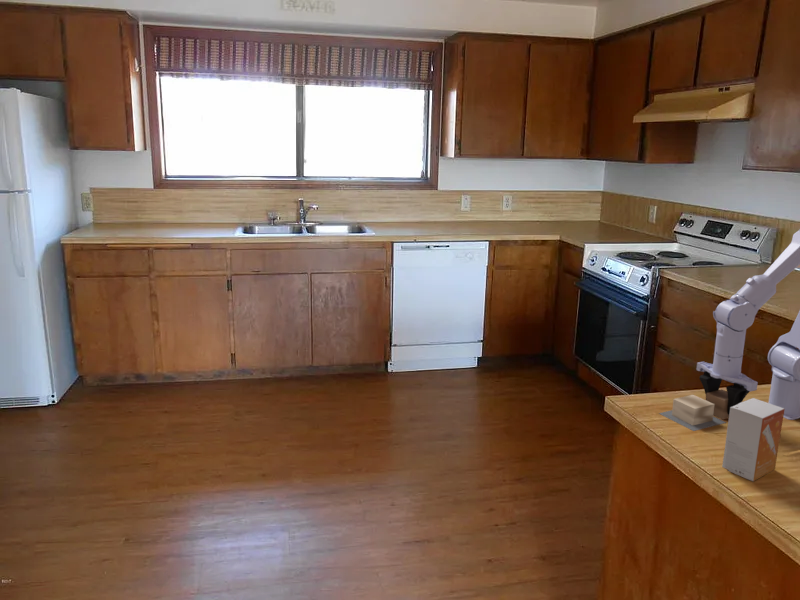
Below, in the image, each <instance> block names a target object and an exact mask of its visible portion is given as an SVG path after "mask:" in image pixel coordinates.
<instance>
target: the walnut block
mask: <svg viewBox="0 0 800 600" xmlns="http://www.w3.org/2000/svg"><path fill="white" fill-rule="evenodd" d="M705 400H706V401H708V402H711V403H713V404H715V405H714V413H713V417H716V418H718V419H720V420H722V421H724V420H727V419H729V415H728V412H727V408H728V393H727V390H724V389H719V390H717V391H713V392H708V393H706V394H705Z"/></svg>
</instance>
